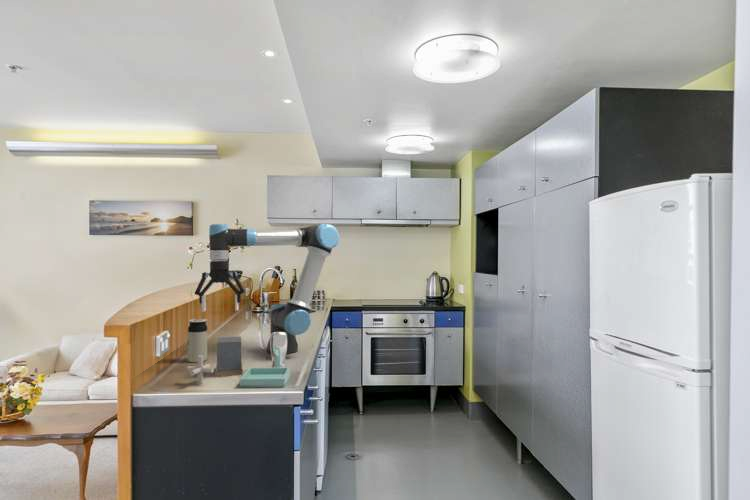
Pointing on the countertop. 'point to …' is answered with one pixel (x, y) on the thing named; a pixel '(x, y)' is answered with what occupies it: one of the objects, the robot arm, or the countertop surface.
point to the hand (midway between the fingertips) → (220, 310)
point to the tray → (265, 377)
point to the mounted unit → (229, 357)
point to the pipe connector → (200, 369)
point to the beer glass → (278, 349)
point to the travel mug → (197, 339)
